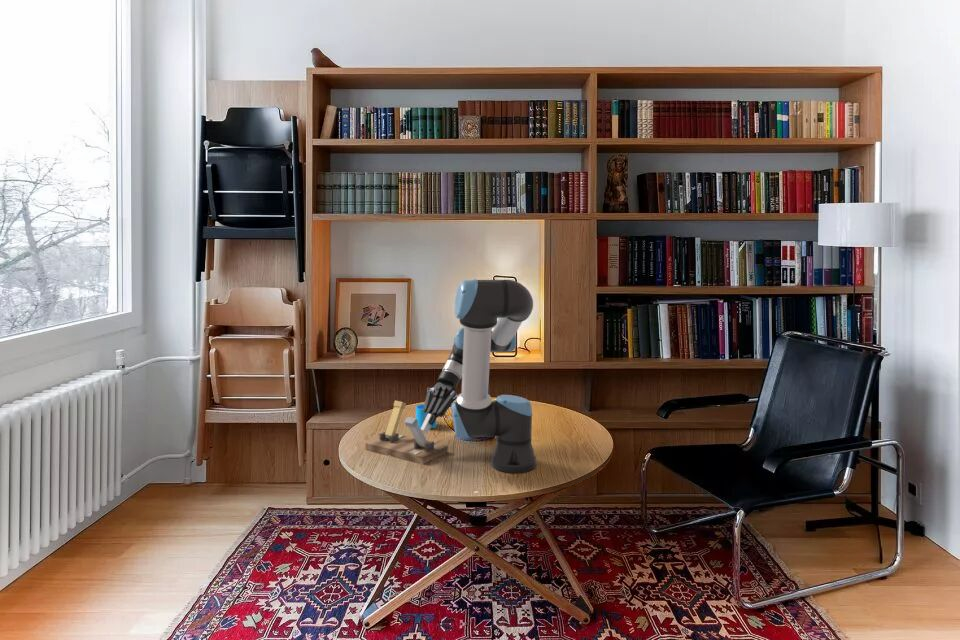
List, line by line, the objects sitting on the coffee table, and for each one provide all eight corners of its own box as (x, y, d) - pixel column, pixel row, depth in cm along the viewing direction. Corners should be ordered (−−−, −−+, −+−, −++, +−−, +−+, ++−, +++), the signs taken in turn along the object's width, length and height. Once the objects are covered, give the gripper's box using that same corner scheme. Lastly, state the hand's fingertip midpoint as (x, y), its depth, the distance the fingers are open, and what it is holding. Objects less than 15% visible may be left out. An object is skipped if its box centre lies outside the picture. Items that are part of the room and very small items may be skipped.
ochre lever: (394, 440, 235) (406, 403, 239) (390, 439, 233) (402, 401, 237) (386, 438, 237) (398, 402, 241) (382, 437, 235) (394, 400, 239)
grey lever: (430, 444, 227) (416, 418, 219) (427, 450, 226) (412, 423, 217) (422, 442, 229) (407, 416, 221) (419, 448, 228) (404, 421, 219)
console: (447, 452, 230) (447, 439, 230) (423, 464, 219) (423, 450, 218) (391, 439, 244) (391, 426, 244) (365, 449, 233) (365, 436, 232)
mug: (436, 429, 257) (436, 409, 256) (416, 430, 256) (415, 409, 255) (435, 420, 269) (435, 401, 267) (415, 421, 268) (415, 401, 267)
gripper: (469, 383, 237) (443, 440, 225) (440, 378, 244) (413, 433, 232) (461, 372, 231) (434, 429, 220) (432, 367, 238) (403, 423, 227)
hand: (423, 431), depth 226 cm, fingers closed
